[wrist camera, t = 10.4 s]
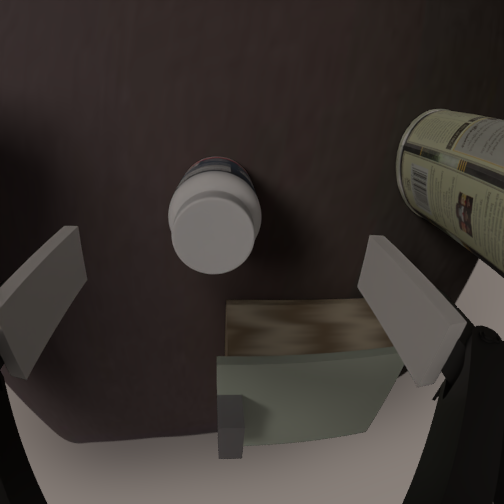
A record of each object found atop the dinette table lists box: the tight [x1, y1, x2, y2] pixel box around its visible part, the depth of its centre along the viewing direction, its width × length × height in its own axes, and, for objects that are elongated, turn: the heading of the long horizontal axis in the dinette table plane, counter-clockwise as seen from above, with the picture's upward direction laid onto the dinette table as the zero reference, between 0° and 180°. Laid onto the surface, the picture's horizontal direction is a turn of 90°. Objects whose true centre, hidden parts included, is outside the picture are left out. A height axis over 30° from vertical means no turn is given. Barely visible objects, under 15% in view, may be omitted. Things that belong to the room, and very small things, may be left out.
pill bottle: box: [168, 157, 261, 274], centre depth 19 cm, size 5×5×9 cm
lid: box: [217, 346, 404, 459], centre depth 22 cm, size 15×12×4 cm
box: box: [225, 298, 393, 356], centre depth 27 cm, size 14×11×7 cm
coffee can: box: [396, 109, 504, 278], centre depth 17 cm, size 10×10×14 cm
